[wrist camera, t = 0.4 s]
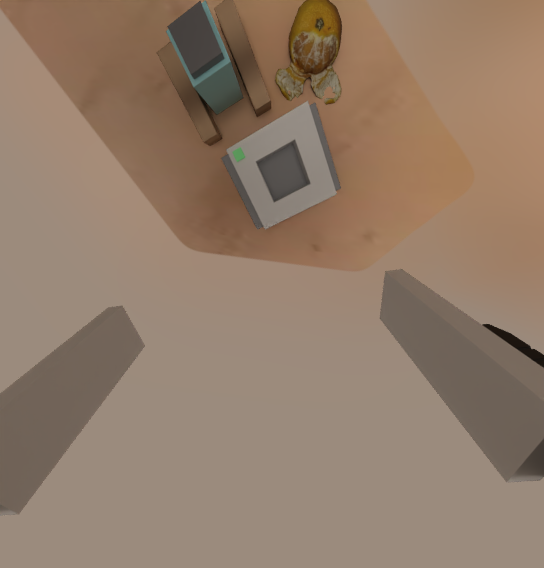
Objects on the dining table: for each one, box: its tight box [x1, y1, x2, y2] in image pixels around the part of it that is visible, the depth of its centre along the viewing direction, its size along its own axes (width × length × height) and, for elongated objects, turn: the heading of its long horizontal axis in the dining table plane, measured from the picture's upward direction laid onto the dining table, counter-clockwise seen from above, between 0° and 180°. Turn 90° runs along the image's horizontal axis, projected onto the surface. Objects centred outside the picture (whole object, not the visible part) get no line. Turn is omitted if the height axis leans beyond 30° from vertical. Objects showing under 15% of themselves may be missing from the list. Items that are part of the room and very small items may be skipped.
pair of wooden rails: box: [157, 0, 271, 145], centre depth 25 cm, size 9×9×3 cm
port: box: [221, 101, 341, 229], centre depth 28 cm, size 11×14×4 cm
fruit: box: [275, 0, 342, 104], centre depth 23 cm, size 8×8×4 cm
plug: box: [166, 1, 243, 114], centre depth 22 cm, size 4×4×10 cm
